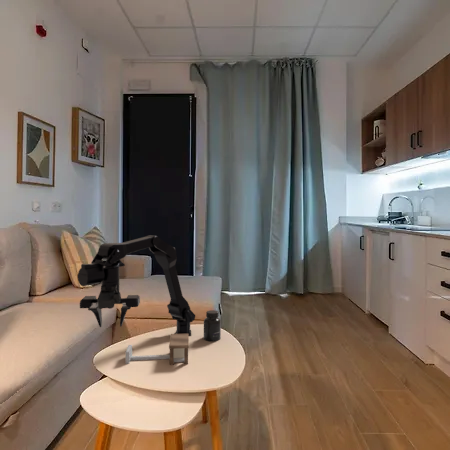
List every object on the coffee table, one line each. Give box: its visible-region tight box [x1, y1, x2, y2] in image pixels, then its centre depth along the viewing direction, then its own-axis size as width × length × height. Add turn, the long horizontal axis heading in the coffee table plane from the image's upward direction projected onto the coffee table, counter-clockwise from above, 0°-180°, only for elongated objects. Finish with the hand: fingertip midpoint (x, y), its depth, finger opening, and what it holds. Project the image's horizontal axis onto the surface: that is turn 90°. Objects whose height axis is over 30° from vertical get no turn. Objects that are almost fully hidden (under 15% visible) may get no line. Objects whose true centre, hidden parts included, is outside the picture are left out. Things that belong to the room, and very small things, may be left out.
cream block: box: [174, 348, 184, 358], centre depth 122 cm, size 4×4×4 cm
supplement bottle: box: [203, 309, 222, 343], centre depth 140 cm, size 7×7×12 cm
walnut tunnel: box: [168, 333, 190, 366], centre depth 122 cm, size 11×6×7 cm, turn 6°
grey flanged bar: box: [125, 344, 184, 365], centre depth 121 cm, size 7×20×4 cm, turn 96°
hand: (110, 326), depth 119 cm, fingers open, 6 cm apart
